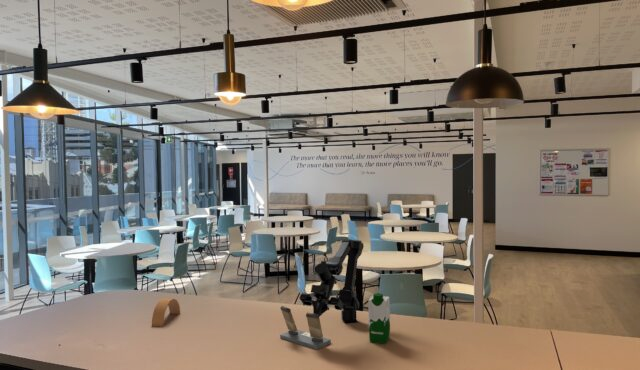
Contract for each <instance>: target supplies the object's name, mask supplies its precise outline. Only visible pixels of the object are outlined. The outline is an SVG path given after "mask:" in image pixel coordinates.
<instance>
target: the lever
mask: <svg viewBox="0 0 640 370" xmlns="http://www.w3.org/2000/svg"><path fill="white" fill-rule="evenodd" d="M280 310H281V311H280V312H281V314H282V316H283V318H284V322H285V324H286V328H287V330H288V331H290V330H291V331H293V332H296V331H297V330H298V328H297V326H296V325H297V324H296V323H295V320H294V316H293V314H292V311H291V308H289V307H287V306H284V305H281V306H280Z"/></svg>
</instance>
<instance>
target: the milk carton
mask: <svg viewBox="0 0 640 370" xmlns="http://www.w3.org/2000/svg"><path fill="white" fill-rule="evenodd" d="M367 304H368V333H369V335H368V336H369V337H368V338H369V342H370V343H377V344H385V345H387V343H388V341H389V339H390V334H391V333H390V332H391V302H390V296H384V295H383V294H382V293H376V292H375V293H373V295H371V296H370V297H369V299H368V303H367Z"/></svg>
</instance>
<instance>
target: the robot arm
mask: <svg viewBox="0 0 640 370" xmlns="http://www.w3.org/2000/svg"><path fill="white" fill-rule="evenodd" d="M364 247H365V246H364V243H363V242H362V240H359V239H357V240H356V239H346V238H344V239H342V240H341V244H340V245H339V247H338V249H337V251H336V252H335V254H334V256H333V257H331V258H329V259H328V260H327V261H325V260H321V262H320V263H318V264H316V265H315V267H314V269H313V271H314V273H315V274H316V276H317V278H318V280H319V281H320V284H311V289H310V293H311V294H313V296H311V294H310V293H301V294H300V295H299V297H298V299H299V300H300V302H301V303H302V304H303V306H309V307H310V306H312V308H313V309H312V310H313V312H312V313H313V314H319V318H320V317H321V316H322V315H323V314H324V313H326V312H327V311H330V306H334V309H335V310H337V311H340V312H341V313H340V315H341V320H342V322H343V323H345V324H347V323H358V320H357V310H359V309H360V302H359V300H358V298H357V295H358V294H357V291H356V290H355V283H356V275H357V267H358V260H359V258H360V256H362V254H363V249H364ZM346 257H347V263H346V271H345V279H344V284H343V285H344V286H343V287H342V289H340V290H339V293H338V297H336V296H333V295H334V294H333V293H334V292H333V289H334V286H335V285H337V284H338V282H337V278H336V277H335V276H340V275H341V274H342V272H343V270H344V267H343V263H344V261H345V260H346Z"/></svg>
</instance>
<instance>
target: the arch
mask: <svg viewBox="0 0 640 370" xmlns="http://www.w3.org/2000/svg"><path fill="white" fill-rule="evenodd" d="M179 303H180V302H179V301H178V300H177V299H176V298H161V299H160V300H158V302H157V303H156V305H155V307H154V309H153V313H152V318H151V326H152V327H153V326H154V327H164V321H165V320H164V319H165V315H166V312H167V308H168V310H169V314H173V315H174V314H176V315H177V314H181V307H180V304H179Z"/></svg>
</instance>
